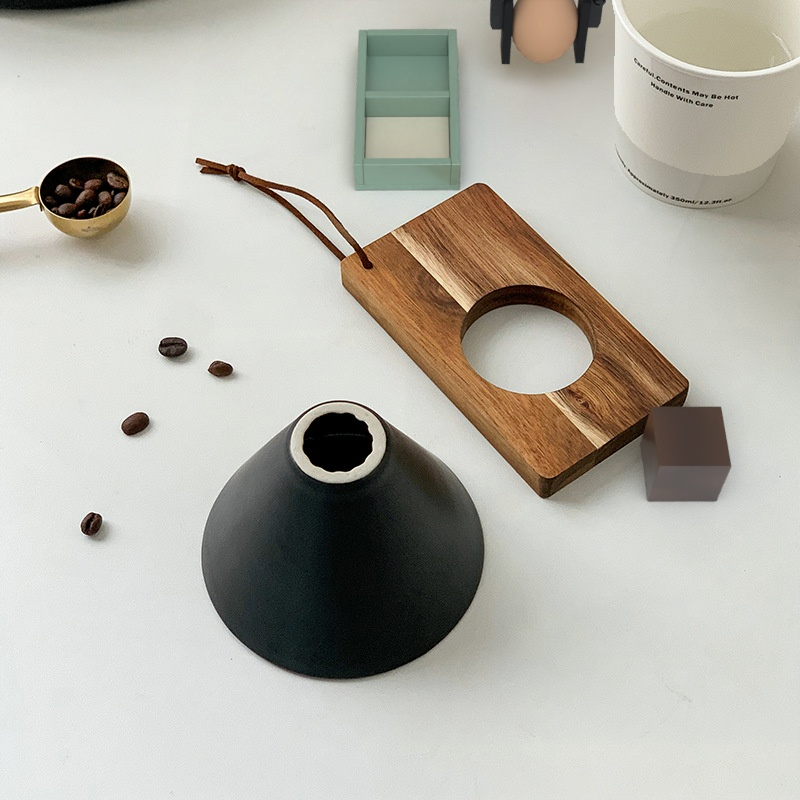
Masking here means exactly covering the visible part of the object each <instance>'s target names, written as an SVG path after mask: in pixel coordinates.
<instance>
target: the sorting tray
mask: <svg viewBox="0 0 800 800" xmlns="http://www.w3.org/2000/svg"><path fill="white" fill-rule="evenodd" d="M457 33H458V30H457V28H398V29H397V28H392V29H391V28H389V29H387V28H386V29H383V28H381V29H379V28H378V29H377V28H376V29H372V28H371V29H358V37H357V40H358V41H357V65H356V66H357V67H356V88H355V89H356V90H355V92H356V93H355V117H354V142H353V143H354V145H353V146H354V147H353V176H354V177H353V179H354V190H355V191H459V190H460V189H461V169H462V167H461V166H462V165H461V163H462V162H461V159H462V158H461V129H460V103H459V102H460V97H459V95H460V94H459V67H458V66H459V62H458V34H457Z"/></svg>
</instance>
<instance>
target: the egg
mask: <svg viewBox="0 0 800 800" xmlns="http://www.w3.org/2000/svg"><path fill="white" fill-rule="evenodd" d="M577 29H578V11H577V4H576V1H575V0H516V1H515V3H514V8H513V23H512V39H511V40H512V42H513V44H514V46H515V47H516V49H517V51H518V52H519V53H520V54H521V55H522V56H523V57H525V58H526V59H528V60H529V61H531V62H535V63H539V64H545V63H546V64H547V63H551V62H554V61H556V60H558V59H559V58H561V57H563V56H564V55H565V54H566V53H567V52H568V51H569V50H570V49H571V47H572V46H573V42H574V40H575V37H576V33H577Z"/></svg>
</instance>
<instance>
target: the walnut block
mask: <svg viewBox="0 0 800 800" xmlns="http://www.w3.org/2000/svg"><path fill="white" fill-rule="evenodd" d="M640 450H641V457H642V458H641V459H642V466H643V475H644V483H645V491H646V500H647V502H717V501H718V499H719V497H720V495H721V492H722V489H723V487H724V485H725V483H726V481H727V478H728V476H729V473H730V471H731V469H732V461H731V456H730V451H729V444H728V438H727V432H726V426H725V421H724V415H723V408H722V406H651V407H650V410H649V414H648V417H647V420H646V423H645V427H644V430H643V433H642V437H641V440H640Z"/></svg>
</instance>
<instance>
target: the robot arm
mask: <svg viewBox="0 0 800 800" xmlns="http://www.w3.org/2000/svg"><path fill="white" fill-rule="evenodd" d="M514 2H515V1H514V0H490V1H489V25H490V29H491V30H493V31H495V30H497V31H498V30H500V44H499V45H500V61H501V62H500V63H501V65H511V53H512V40H513V39H512V23H513V8H514V6H515V3H514ZM606 3H607V0H577V5H576V7H577V11H578V29H577V33H576V37H575V40H574V42H573V44H572V47H573V54H574V63H575V64H584V63H585V54H586V47H587V40H588V32H589V29H598V28H599V26H600V25H601V23H602V15H603V8H604V5H605V4H606Z"/></svg>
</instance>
